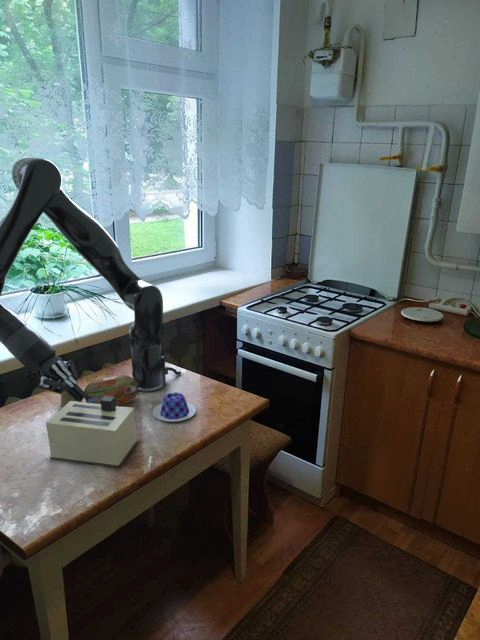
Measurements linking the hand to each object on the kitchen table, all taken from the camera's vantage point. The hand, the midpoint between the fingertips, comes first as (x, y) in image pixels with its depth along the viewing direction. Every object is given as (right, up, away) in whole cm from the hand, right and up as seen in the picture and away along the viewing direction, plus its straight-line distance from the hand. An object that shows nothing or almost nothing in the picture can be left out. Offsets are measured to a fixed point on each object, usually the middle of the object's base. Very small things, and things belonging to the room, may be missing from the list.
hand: (83, 398), depth 121 cm
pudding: (+19, -6, +19) cm, 28 cm away
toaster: (+3, -13, +1) cm, 13 cm away
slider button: (+6, -2, 0) cm, 7 cm away
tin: (0, -4, +23) cm, 23 cm away
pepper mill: (-11, -5, +21) cm, 24 cm away
